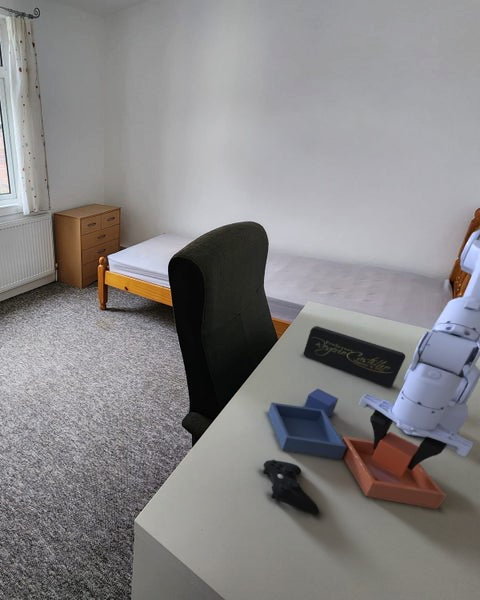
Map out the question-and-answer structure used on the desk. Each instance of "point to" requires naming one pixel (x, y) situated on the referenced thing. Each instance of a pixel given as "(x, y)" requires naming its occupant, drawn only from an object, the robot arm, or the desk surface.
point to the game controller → (288, 486)
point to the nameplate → (354, 356)
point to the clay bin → (390, 477)
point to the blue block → (321, 401)
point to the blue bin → (306, 431)
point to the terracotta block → (395, 453)
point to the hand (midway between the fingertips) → (393, 456)
